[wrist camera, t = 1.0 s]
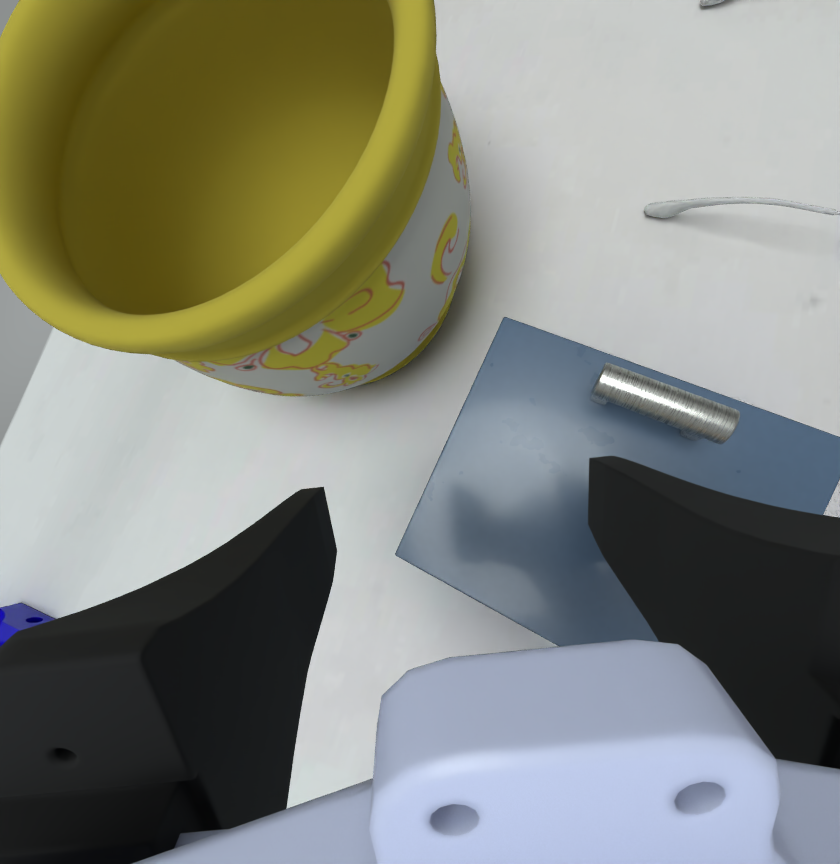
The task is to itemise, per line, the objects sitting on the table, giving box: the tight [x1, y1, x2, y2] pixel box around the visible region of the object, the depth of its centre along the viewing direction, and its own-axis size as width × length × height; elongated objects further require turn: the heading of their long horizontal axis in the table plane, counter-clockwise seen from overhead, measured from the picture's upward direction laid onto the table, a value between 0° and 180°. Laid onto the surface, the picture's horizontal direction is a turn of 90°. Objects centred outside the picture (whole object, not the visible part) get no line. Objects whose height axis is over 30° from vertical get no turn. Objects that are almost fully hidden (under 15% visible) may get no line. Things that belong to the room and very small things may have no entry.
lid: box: [395, 317, 840, 647], centre depth 19 cm, size 13×15×4 cm
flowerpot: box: [0, 0, 471, 396], centre depth 23 cm, size 18×18×16 cm
